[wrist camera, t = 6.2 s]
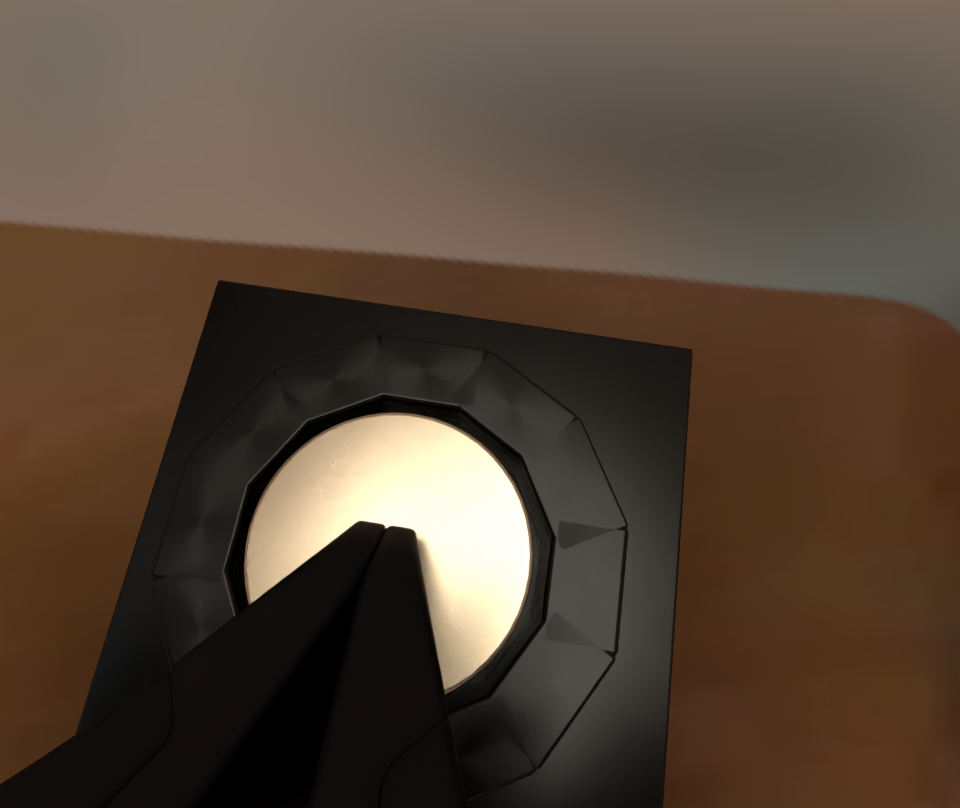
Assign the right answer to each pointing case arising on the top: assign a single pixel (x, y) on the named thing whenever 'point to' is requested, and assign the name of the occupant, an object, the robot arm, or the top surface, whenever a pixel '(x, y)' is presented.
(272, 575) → the knob
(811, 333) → the top surface
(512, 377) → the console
